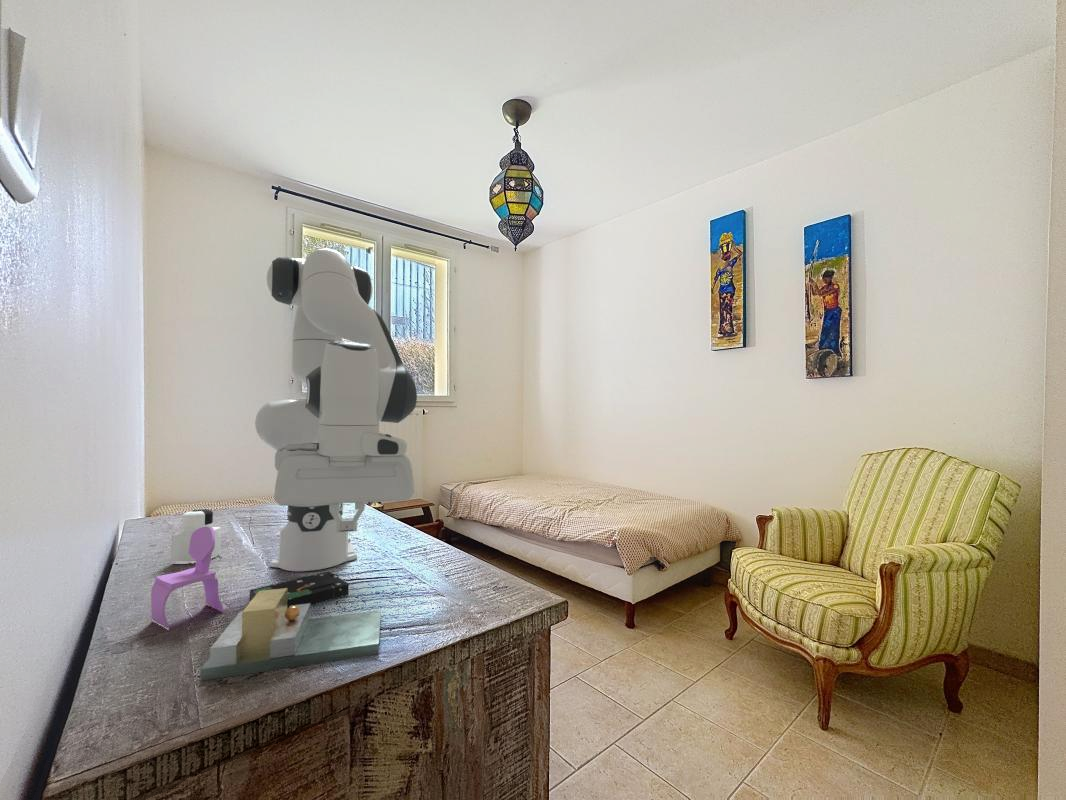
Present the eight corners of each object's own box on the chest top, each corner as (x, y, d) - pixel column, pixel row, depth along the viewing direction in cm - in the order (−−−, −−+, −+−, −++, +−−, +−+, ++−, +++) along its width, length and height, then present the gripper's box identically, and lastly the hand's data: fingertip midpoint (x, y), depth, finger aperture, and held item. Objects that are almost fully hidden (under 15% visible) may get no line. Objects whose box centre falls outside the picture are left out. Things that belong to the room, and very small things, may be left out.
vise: (232, 638, 70) (232, 612, 70) (380, 619, 76) (381, 595, 76) (200, 680, 58) (201, 649, 58) (378, 654, 65) (378, 626, 65)
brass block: (241, 656, 61) (242, 612, 62) (257, 630, 69) (258, 590, 69) (273, 651, 63) (274, 608, 63) (286, 626, 70) (287, 587, 70)
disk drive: (328, 584, 94) (247, 604, 84) (329, 570, 94) (248, 588, 84) (349, 597, 87) (263, 621, 76) (349, 583, 87) (264, 604, 77)
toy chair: (146, 621, 76) (149, 532, 76) (205, 603, 83) (208, 522, 84) (166, 633, 71) (169, 538, 72) (227, 613, 79) (229, 527, 79)
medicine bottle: (190, 556, 112) (191, 508, 113) (220, 555, 113) (221, 507, 113) (170, 565, 105) (172, 514, 105) (202, 564, 106) (204, 513, 106)
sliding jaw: (289, 620, 72) (290, 593, 72) (310, 618, 73) (310, 590, 73) (270, 658, 61) (270, 625, 61) (294, 654, 62) (295, 622, 62)
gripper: (269, 445, 64) (266, 541, 64) (415, 444, 70) (413, 532, 70) (280, 441, 70) (278, 529, 70) (414, 441, 76) (412, 522, 76)
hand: (347, 530), depth 70 cm, fingers closed
